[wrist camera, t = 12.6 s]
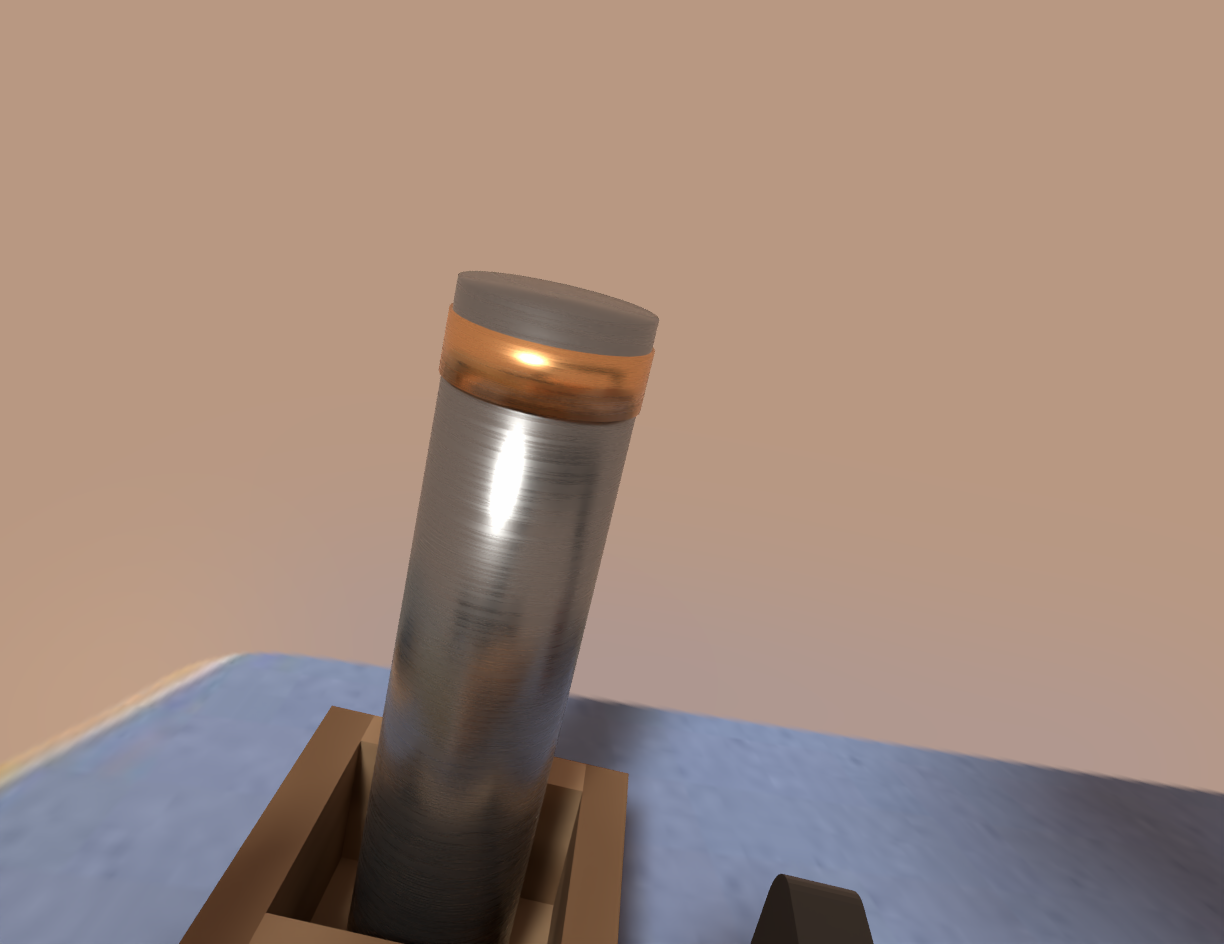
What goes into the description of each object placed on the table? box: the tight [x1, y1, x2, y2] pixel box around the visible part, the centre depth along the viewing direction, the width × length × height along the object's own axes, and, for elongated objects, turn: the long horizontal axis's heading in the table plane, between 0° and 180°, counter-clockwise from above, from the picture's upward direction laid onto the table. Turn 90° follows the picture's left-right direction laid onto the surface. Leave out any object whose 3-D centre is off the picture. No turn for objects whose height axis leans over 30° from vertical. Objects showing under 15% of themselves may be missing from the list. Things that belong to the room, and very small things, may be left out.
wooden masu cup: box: [179, 706, 628, 944], centre depth 18 cm, size 7×7×4 cm
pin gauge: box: [346, 271, 659, 944], centre depth 17 cm, size 3×3×14 cm
